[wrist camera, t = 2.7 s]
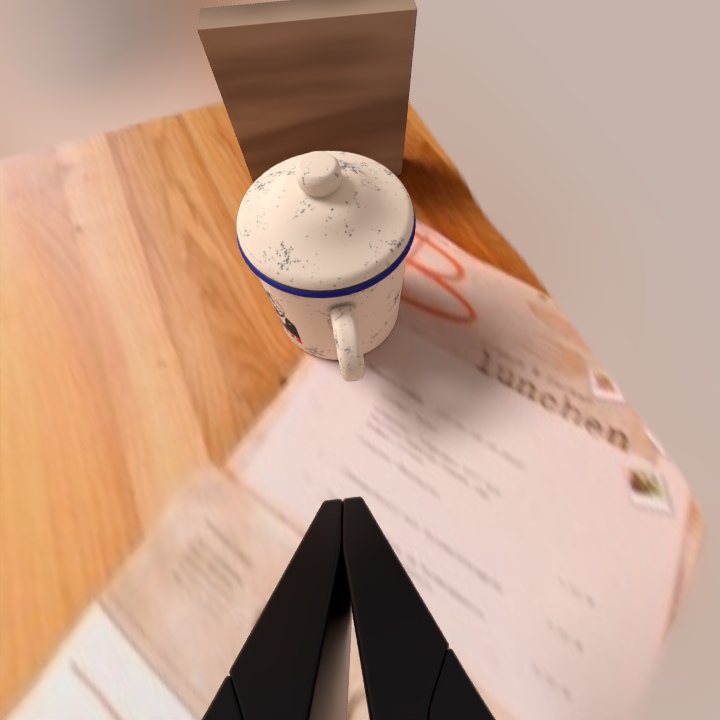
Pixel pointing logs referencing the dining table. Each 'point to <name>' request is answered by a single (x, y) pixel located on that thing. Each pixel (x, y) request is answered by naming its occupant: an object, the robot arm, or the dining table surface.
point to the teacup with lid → (330, 251)
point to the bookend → (313, 76)
